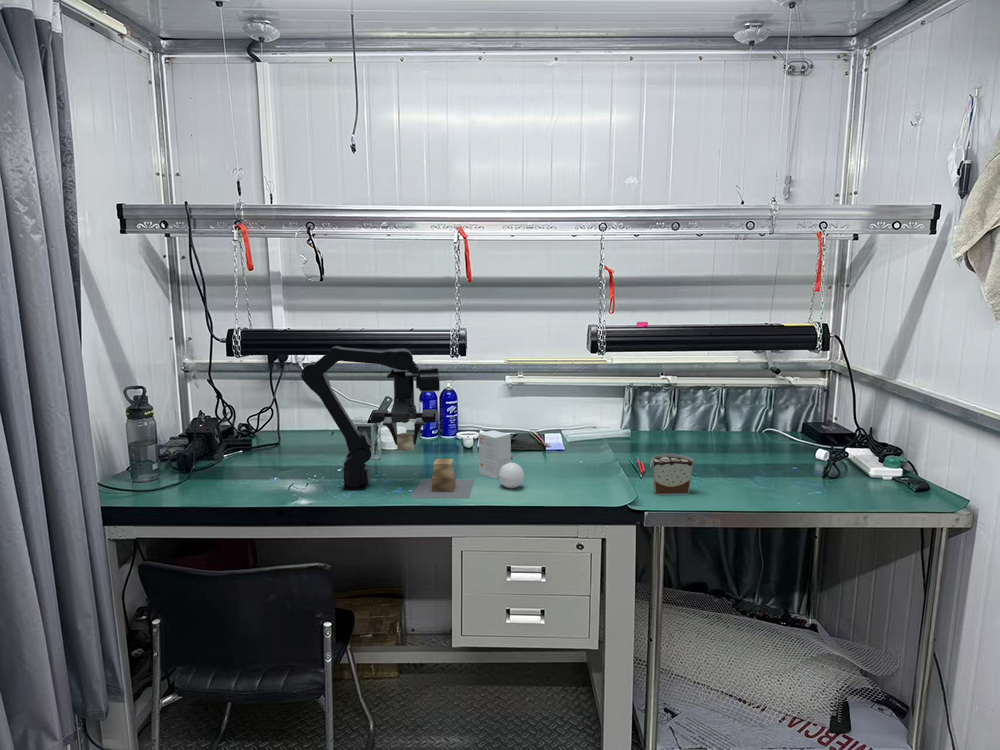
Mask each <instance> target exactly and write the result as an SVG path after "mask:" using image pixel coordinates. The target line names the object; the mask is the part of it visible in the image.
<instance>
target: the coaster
mask: <svg viewBox="0 0 1000 750" xmlns="http://www.w3.org/2000/svg"><path fill="white" fill-rule="evenodd" d="M474 481H475V479H455V482H456V485H455V488H454V491H453V492H432V479H430V478H429V479H420V480H419V482H418V484H417V486H416V488H415V490H414V492H413V493H412V495H411V499H470V498H471V493H472V489H473V486H474Z"/></svg>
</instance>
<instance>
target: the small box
mask: <svg viewBox="0 0 1000 750" xmlns="http://www.w3.org/2000/svg"><path fill="white" fill-rule="evenodd" d="M511 441H512V440H511V434H510V433H506V432H502V431H497V430H494V429H492V430H487V431H483V432H479V433H478V472H479V474H480V475H484V476H485V477H489V478H492V479H494V480H499V471H500V469H501V467H502V466H504V465H505V464H507V463H512V458H511V456H512V451H511V450H512V447H511V445H512V444H511ZM493 475H496V476H493Z"/></svg>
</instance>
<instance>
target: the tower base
mask: <svg viewBox="0 0 1000 750" xmlns="http://www.w3.org/2000/svg"><path fill="white" fill-rule="evenodd" d="M431 480H432V492H453V491H454V488H455V485H456V482H455V480H456V471H453V475H452V477H451V478H434V473H433V474H432V477H431Z"/></svg>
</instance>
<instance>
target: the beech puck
mask: <svg viewBox="0 0 1000 750" xmlns="http://www.w3.org/2000/svg"><path fill="white" fill-rule="evenodd" d="M397 434H398V435H397V445H396V448H397V449H396V450H398V451H403V452H405V451H412V450H414V449H415V445H414V433H412V432H402V433H397Z"/></svg>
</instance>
